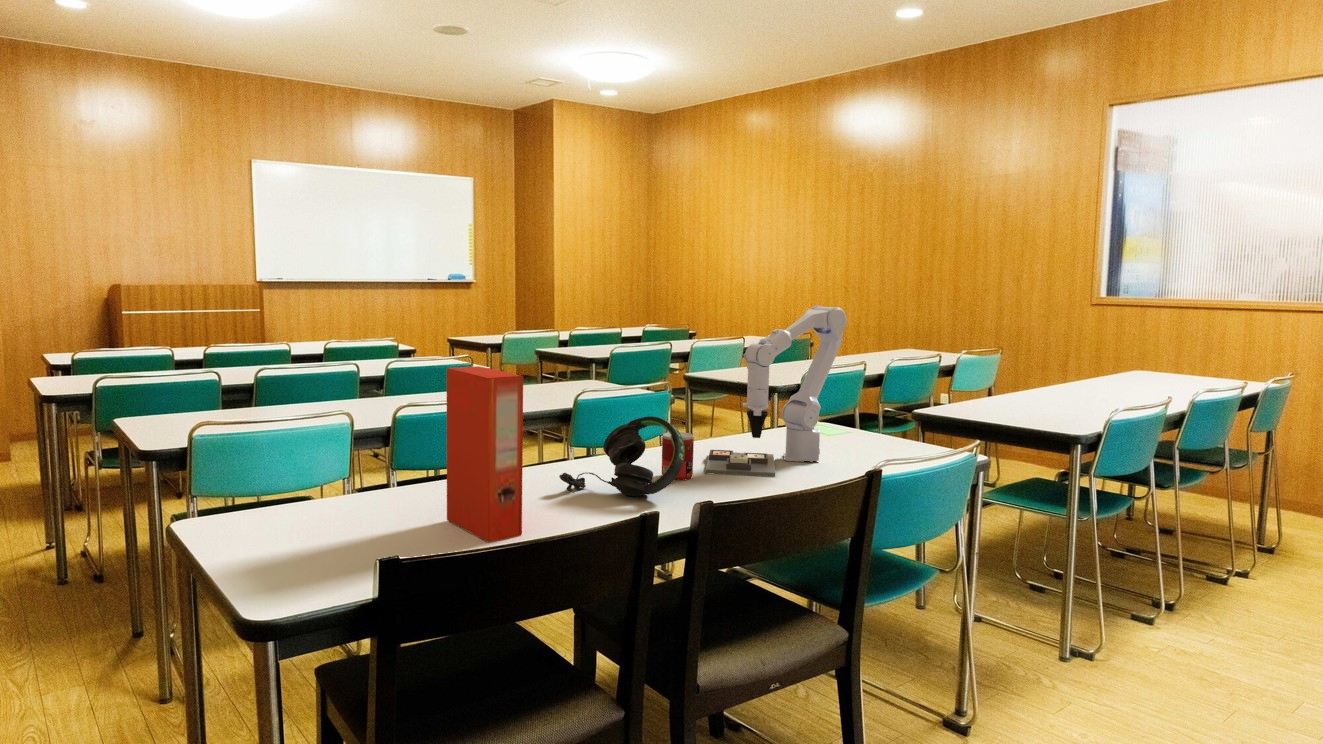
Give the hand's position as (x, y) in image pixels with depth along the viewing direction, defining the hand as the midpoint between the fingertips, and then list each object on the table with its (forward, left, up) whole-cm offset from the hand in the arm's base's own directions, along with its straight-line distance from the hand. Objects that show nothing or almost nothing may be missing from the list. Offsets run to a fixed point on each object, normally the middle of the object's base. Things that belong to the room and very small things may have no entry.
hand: (756, 437), depth 233 cm
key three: (+10, -2, -6) cm, 12 cm away
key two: (+4, +8, -5) cm, 10 cm away
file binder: (+55, +67, -8) cm, 87 cm away
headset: (+31, +38, -8) cm, 49 cm away
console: (+4, +2, -7) cm, 9 cm away
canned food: (+20, +18, -8) cm, 28 cm away
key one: (0, 0, -6) cm, 6 cm away
